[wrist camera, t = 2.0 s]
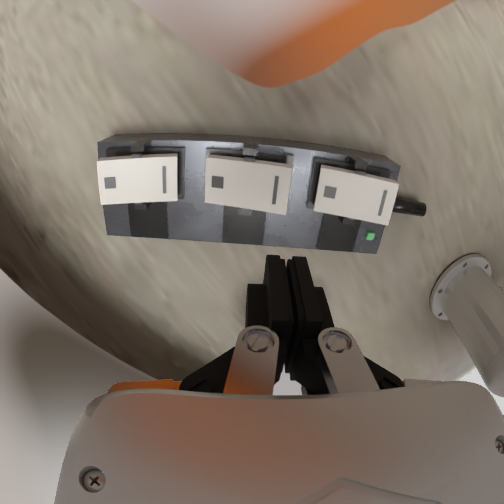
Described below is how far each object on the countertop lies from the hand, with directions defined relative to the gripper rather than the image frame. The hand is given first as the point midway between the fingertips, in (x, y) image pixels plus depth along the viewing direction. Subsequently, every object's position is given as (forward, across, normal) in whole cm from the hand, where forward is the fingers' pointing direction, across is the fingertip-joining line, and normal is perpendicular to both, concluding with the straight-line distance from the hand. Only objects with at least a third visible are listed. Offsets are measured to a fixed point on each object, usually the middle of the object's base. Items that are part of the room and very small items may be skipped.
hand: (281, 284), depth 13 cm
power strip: (+20, -1, +2) cm, 20 cm away
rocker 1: (+13, +11, 0) cm, 17 cm away
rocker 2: (+13, +2, 0) cm, 13 cm away
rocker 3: (+13, -8, 0) cm, 16 cm away
